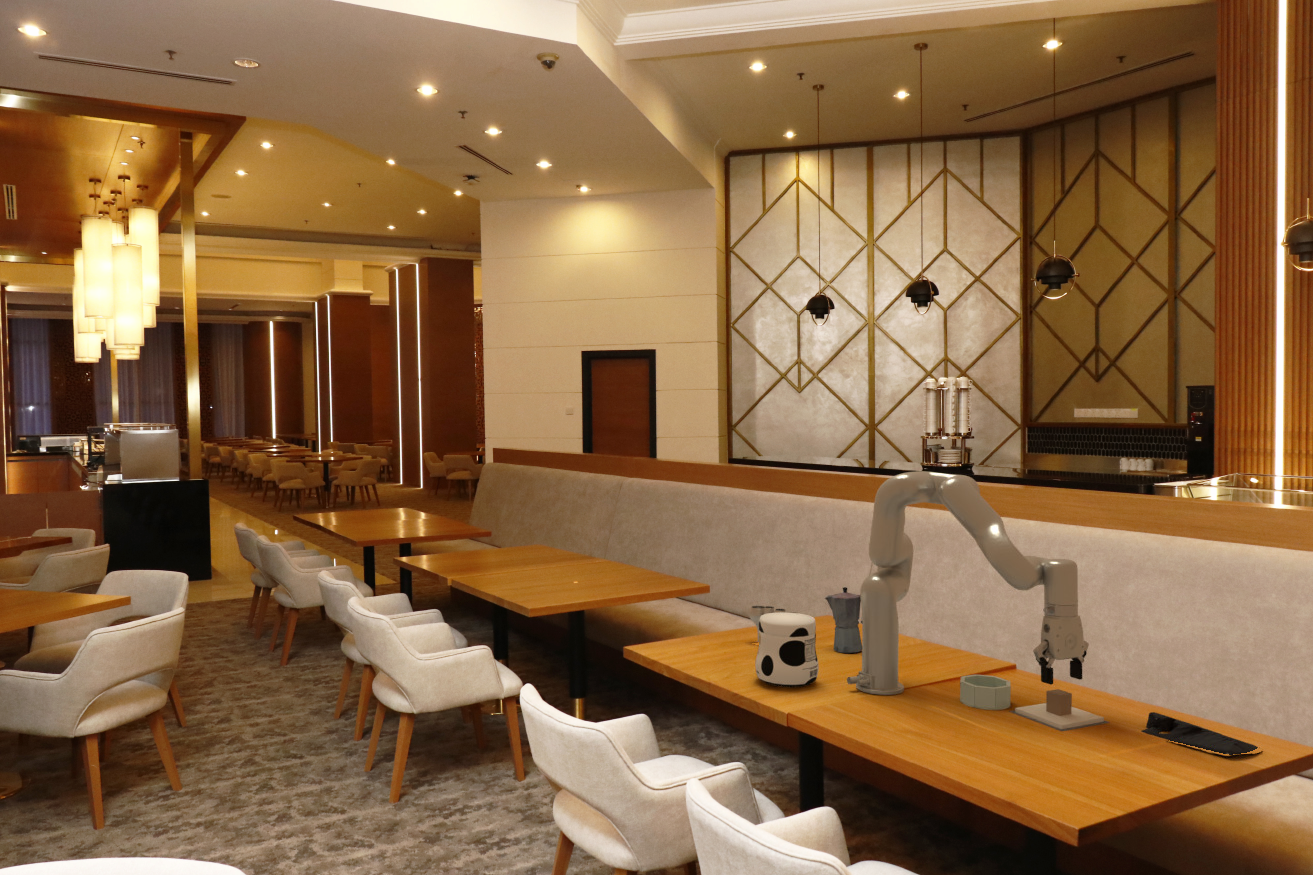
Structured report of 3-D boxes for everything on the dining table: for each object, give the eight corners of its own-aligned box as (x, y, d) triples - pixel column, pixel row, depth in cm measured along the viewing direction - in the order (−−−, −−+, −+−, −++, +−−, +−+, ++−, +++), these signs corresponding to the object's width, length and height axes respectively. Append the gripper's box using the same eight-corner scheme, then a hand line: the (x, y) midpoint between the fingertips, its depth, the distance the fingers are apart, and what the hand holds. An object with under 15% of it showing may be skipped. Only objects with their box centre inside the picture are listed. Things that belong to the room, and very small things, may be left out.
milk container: (752, 673, 263) (753, 610, 262) (813, 674, 262) (814, 611, 262) (757, 691, 245) (758, 624, 245) (822, 692, 245) (823, 625, 245)
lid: (1061, 729, 215) (1061, 703, 215) (1015, 711, 227) (1015, 687, 227) (1103, 721, 221) (1104, 696, 220) (1056, 705, 233) (1056, 681, 233)
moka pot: (823, 645, 296) (824, 583, 296) (872, 647, 294) (873, 585, 294) (824, 653, 287) (825, 589, 287) (875, 655, 285) (876, 590, 284)
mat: (1061, 733, 213) (1061, 731, 213) (1009, 713, 228) (1009, 711, 228) (1110, 724, 220) (1110, 722, 220) (1055, 705, 235) (1055, 703, 235)
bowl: (984, 714, 227) (985, 690, 227) (950, 700, 238) (950, 677, 238) (1020, 708, 232) (1021, 684, 232) (985, 695, 243) (985, 672, 243)
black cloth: (1225, 765, 196) (1225, 743, 196) (1132, 733, 216) (1133, 713, 216) (1269, 754, 202) (1270, 733, 202) (1176, 724, 222) (1176, 705, 222)
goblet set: (815, 660, 278) (816, 616, 278) (800, 662, 275) (801, 618, 275) (760, 641, 302) (760, 600, 302) (745, 643, 299) (746, 602, 299)
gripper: (1047, 616, 216) (1048, 688, 216) (1099, 609, 224) (1100, 679, 224) (1022, 610, 223) (1023, 681, 223) (1073, 604, 230) (1074, 672, 231)
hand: (1061, 680), depth 224 cm, fingers open, 9 cm apart
